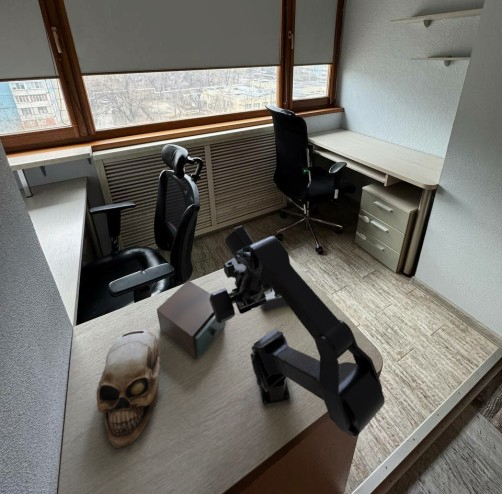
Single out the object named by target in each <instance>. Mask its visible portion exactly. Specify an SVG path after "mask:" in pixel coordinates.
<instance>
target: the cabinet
mask: <svg viewBox="0 0 502 494" xmlns="http://www.w3.org/2000/svg"><path fill="white" fill-rule="evenodd" d="M211 294H212V293H210V292H208V291H207V290H205V289H204V288H202V287H200V286H199V285H197V284H196V283H194V282H192V281H191V280H189V279H188V280H187V281H186V282H185V283H184V284H183V285H182V286H180V287H179V288H178V289H177V290H176V291H174V293H173V294H172V295H171V296H169V297H168V298H167V299H166V300H165V301H164V302H162V304H161V305H160V306H159V307H158V308H156V314H157V320H158V324H159V325H158V326H159V330H160V333H162V334H163V335H164V336H165V337H166V338H168V339H169V340H170V341H171V342H172V343H174V344H175V345H177V346H178V347H179V348H180V349H181V350H182V351H184V352H185V353H186V354H187V355H188V356H190V357H191V358H192V359H194V360H196V359H197V358H198V356H197V355H196V347H195V339H194V337H195V335H196V334H197V333H198V331H199V330H200V329H201V328H202V327H203V326H204V324H205V323H206V322H207V321H208V320H209V319H210V317H211V316H212V315H213V314H214V312H213V309H212V306H211V303H210V296H211Z"/></svg>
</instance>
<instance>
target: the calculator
mask: <svg viewBox="0 0 502 494" xmlns="http://www.w3.org/2000/svg"><path fill="white" fill-rule="evenodd" d="M271 288H272V287H271ZM272 290H273V289H272ZM274 294H275V293H274V291H272V292H271V293H269V294H266V295H265V296H266V300H267V302H266V303H265V304H263V305H261V308H262V310H263V311H264V312H267V311H270V310H275V309H278V308H281V307H285V306H288V305H287V303H286V302H285V301H284V299H283V298H282V297H281V296H280V297H278V298H276V297H275V296H274Z"/></svg>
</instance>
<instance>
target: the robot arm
mask: <svg viewBox="0 0 502 494" xmlns="http://www.w3.org/2000/svg"><path fill="white" fill-rule="evenodd" d="M224 242H225V244H226V247H227V248H228V249H229V251H230V253H231V254H232V257H233V258H231V259H230V260H228V261H227V262H225V263H224V265H223V272H224V275H225V276H226V278H227V279H229V278H232V279H234V280H235V281H234V285H235V288H233V289H232V290H231V292H228V289H226V288H225V287H224V288H222V289H221V288H220V289H219V290H216V291H213V292H211V293H210V294H211V296H210V303H211V306H212V309H213V312H214V315H215V317H216V320H217V322H218V323H223V322H225V323H226V322H227V321H229V320H231V319H232V318H234V317H235V316H236V311H235V307H234V304H235V305H236V308H237V310H238V312H239V314H240V315H243V314H246V313H248V312H250V311H252V309H256V308H259V307H262V305H263V304H265V303H266V302H267V300H266V296H265V295H266V294H269V293H271V292H272V291H274V293H275V294H274V296H275V297H276V298H278V297H280V296H281V297H282V298H283V299H284V301H285V302H286V303H287V305H286V306H287V307H289V308H290V310H291V311H292V313H293V314H294V315H295V316H296V318H297V319H298V320H299V322H300V323H301V324H302V326H303V327H304V328H305V330H306V331H307V332H308V334H309V335H310V336H311V338H312V339H313V340H314V342H315V343H314V344H315V347H316V350H317V352H318V355H319V359H317V358H315V357H312V356H311V355H308V354H306V353H303V352H301V351H299V350H298V349H295V348H293V347H291V346H289V343H288V340H287V338H286V336H285V335H284V332H283V331H280V330H278V329H277V328H274V329H273V330H271V331H269V333H267V334H266V335H264V336H263V337H261V338H260V339H258V340H257V341H255V342H254V343H253V345H252V346H251V350H252V353H250V360H251V365H252V370H253V373H254V375H255V378H256V384H257V386H259V389H260V395H261V396H260V397H261V401H262V404H263V405H271V404H276V403H281V402H282V403H283V402H287V401H289V400H290V399H291V394H290V391H289V386H288V382H287V379H289V380H290V381H293V383H295V384H297V385H298V386H300V387H302V388H303V389H305V390H307V391H308V392H310V393H311V394H312V395H314V396H316V397H317V398H319V399H321V400H322V401H323V403H324V405H325V407H326V411H327V413H328V416H329V418H330V420H331V421H332V422H333V423H334V424H335V425H336V426H337V428H338V429H339V430H340V431H342V432H344V433H345V434H347V435H349V436H350V437H351V438H352V437H353V438H357V437H358V436H359V435H360V434H361V433H362V432H363V430H364V429H365V428H366V427H367V425H368V424H369V423H371V422H372V420H373V419H374V417H375V416H376V415H377V414H378V412H379V411H380V410H381V409H382V408H383V407H384V405H385V403H386V399H385V395H384V392H383V386H382V382H381V380H380V376H379V375H378V372H377V370H376V367H375V364H374V361H373V359H372V358H371V357H370V356H369V355H368V354H367V353H366V352H365V351H364V350H363V349H362V348H361V347H360V346H359V345H358V343H357V340H356V337H355V335H354V333H353V330H352V329H351V327H350V326H349V325H348V324H347V323H346V322H345V321H344V320H342V319H339V318H338V317H337V316H336V315H335V314H334V312H332V310H331V309H330V308H329V307H328V306H327V305H326V304H325V303H324V301H323V300H322V299H321V298H320V297H319V296H318V295H317V293H316V292H315V291H314V290H313V289H312V287H311V286H309V284H308V283H307V282H306V281H305V279H303V278H302V276H301V275H300V274H299V272H298V271H296V269H295V268H294V267H293V266H292V263H291V260H290V254H289V251H288V250H287V249H286V247H285V246H284V245H283V242H282V241H281V240H279V238H277V237H276V236H274V235H269V236H266V237H264V238H263V239H261V240H258V241H256V242H255V241H254V239H253V238H252V237H251V235H250V234H249V232H248V231H247V229H246V228H244V226H243V225H239V226H237V227H234V229H233V231H232V232H231V233H229V234H228V235H227V237H226V238H225V239H224ZM271 287H272V288H271ZM272 289H273V290H272ZM347 351H348V352H350V353H351V355H352V356H353V359H354V362H349V361H344V362H341V363H339V360H338V359H339V358H340V357H342V356H343V355H344V354H345V353H346V352H347Z"/></svg>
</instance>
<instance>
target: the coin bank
mask: <svg viewBox="0 0 502 494" xmlns="http://www.w3.org/2000/svg"><path fill="white" fill-rule="evenodd" d="M106 355H107V356H106V359H105V364H104V365H105V366H104V369H103V371H102V373H101V376H100V378H99V381H98V385H97V388H96V407H97V408H96V409H97V411H98V412H99V413H104V426H105V432H106V435H107V436H106V437H107V439H108V440H109V442H110V443H111V446H112V447H113V448H114V449H120V448H123V447H127V446H130V445H131V444H132V443H133V442H134V441H135V440H136V439H137V438H139V436H140V435H141V434H142V431H143V430H144V428H145V427H146V426H147V424H148V421H149V419H150V416H151V415H152V413H153V412H154V408H155V406H156V403H157V401H158V395H159V382H160V371H161V368H160V367H161V353H160V345H159V342H158V338H157V336H156V335H155V334H154V333H153V332H152V331H150V330H148V329H133V330H129V331H126V332H124V333H123V334H122V335H120V336H119V337H118V338H117V339H116V340H115V341H114V342H113V343H112V345H111V347H110V348H109V350H108V352H107V354H106Z"/></svg>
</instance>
